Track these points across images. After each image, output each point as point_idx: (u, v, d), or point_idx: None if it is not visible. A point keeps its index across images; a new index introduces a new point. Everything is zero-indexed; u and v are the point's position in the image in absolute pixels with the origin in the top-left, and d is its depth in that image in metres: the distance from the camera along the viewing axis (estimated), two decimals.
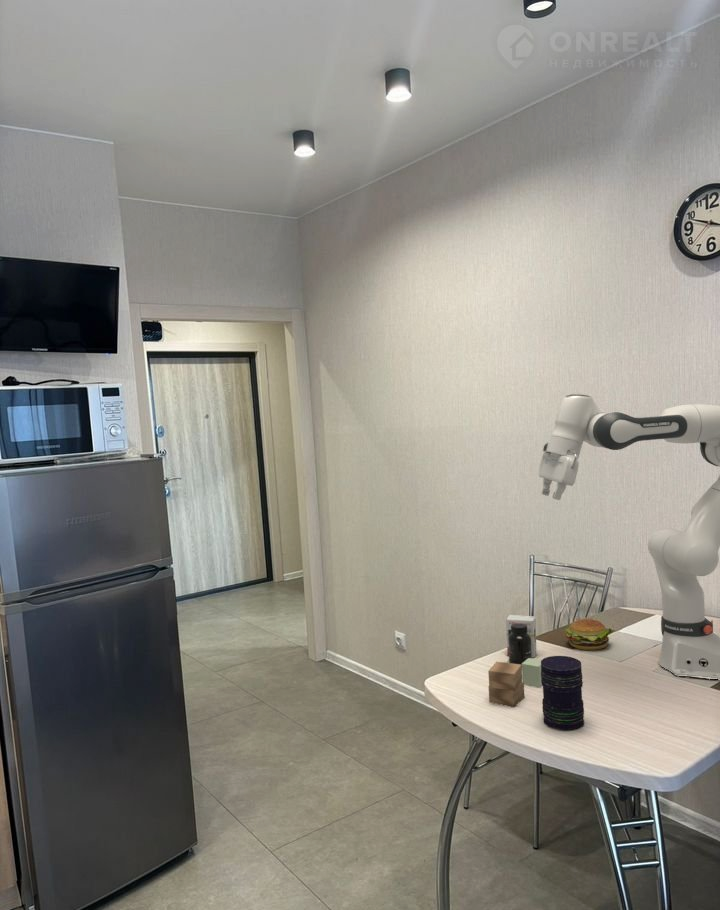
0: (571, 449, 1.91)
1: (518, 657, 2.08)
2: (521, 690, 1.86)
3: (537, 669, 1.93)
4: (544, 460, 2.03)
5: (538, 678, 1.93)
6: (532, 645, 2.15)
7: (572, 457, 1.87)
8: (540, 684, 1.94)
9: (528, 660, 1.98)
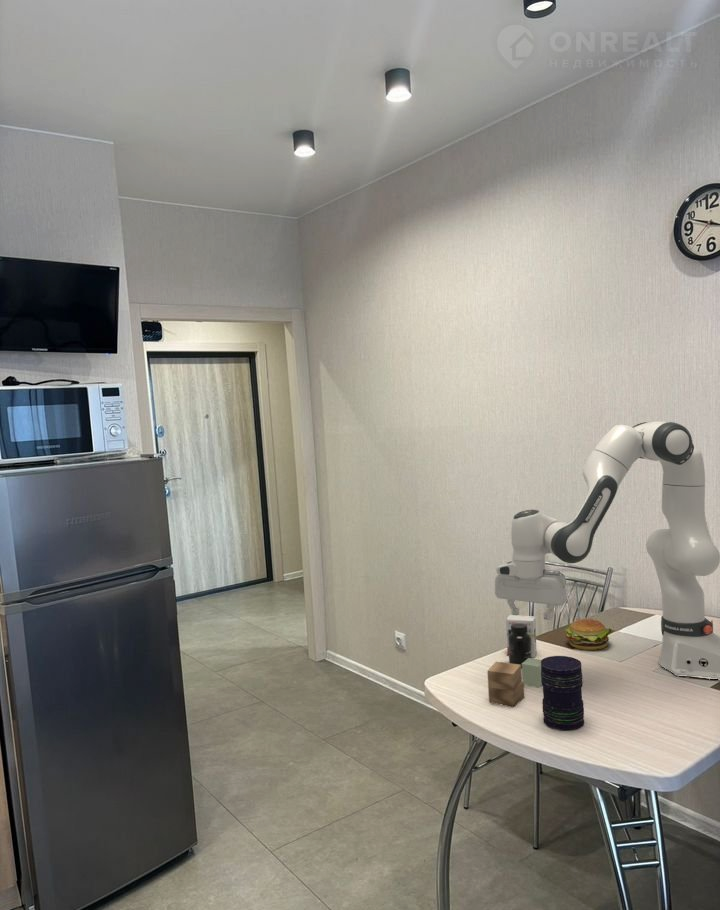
0: (544, 567, 1.92)
1: (518, 657, 2.08)
2: (521, 690, 1.86)
3: (537, 669, 1.93)
4: (501, 582, 1.98)
5: (538, 678, 1.93)
6: (532, 645, 2.15)
7: (559, 577, 1.89)
8: (540, 684, 1.94)
9: (528, 660, 1.98)
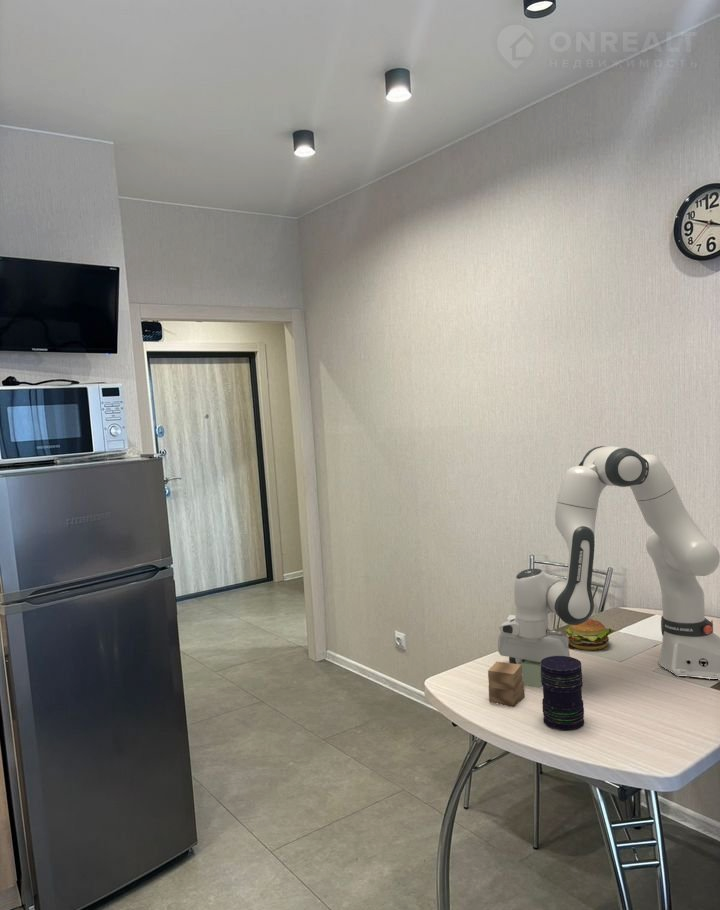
0: (547, 627, 1.94)
1: None
2: (521, 690, 1.86)
3: (537, 669, 1.93)
4: (504, 640, 1.99)
5: (538, 678, 1.93)
6: None
7: (562, 638, 1.90)
8: (540, 684, 1.94)
9: (528, 660, 1.98)
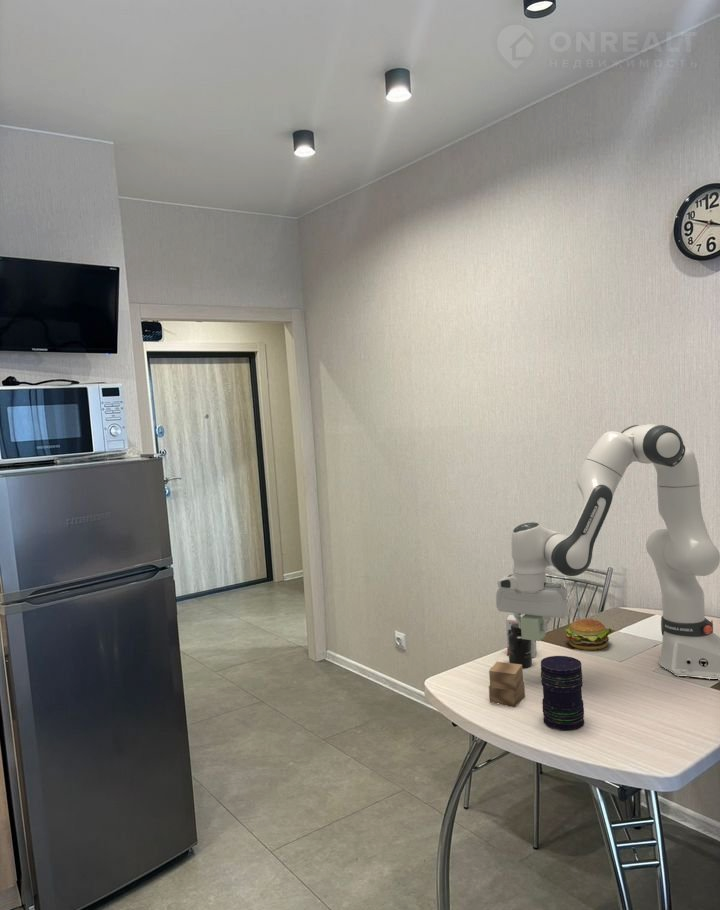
0: (545, 580, 1.93)
1: (518, 657, 2.08)
2: (521, 690, 1.86)
3: (536, 622, 1.92)
4: (502, 595, 1.98)
5: (537, 631, 1.93)
6: (532, 645, 2.15)
7: (560, 590, 1.89)
8: (539, 638, 1.93)
9: (527, 615, 1.97)
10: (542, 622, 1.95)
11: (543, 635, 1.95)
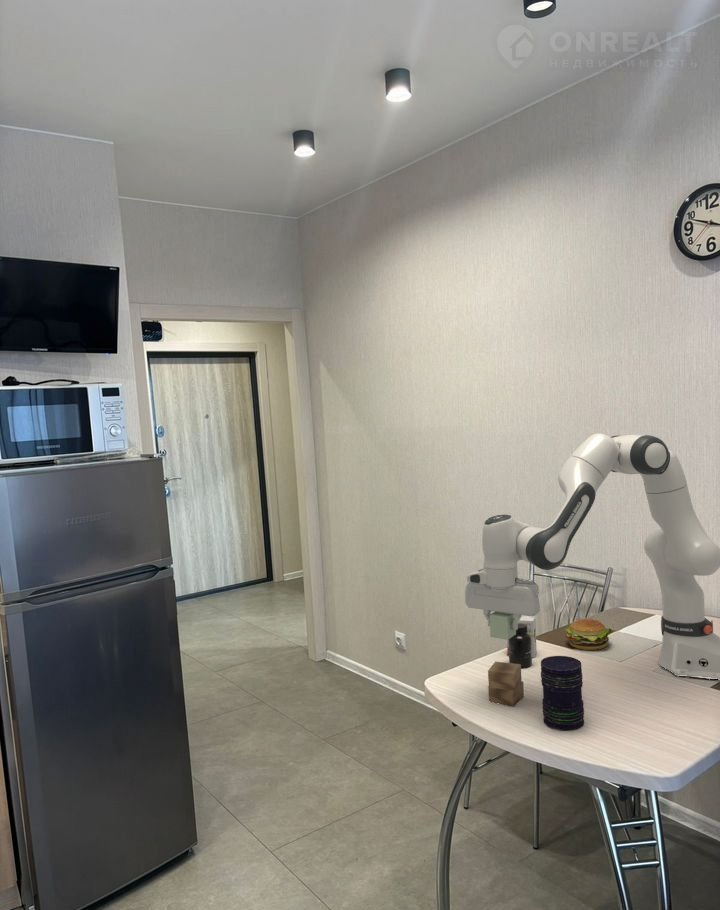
0: (516, 576, 1.83)
1: (518, 657, 2.08)
2: (521, 690, 1.86)
3: (505, 620, 1.82)
4: (471, 590, 1.88)
5: (506, 629, 1.82)
6: (532, 645, 2.15)
7: (532, 587, 1.79)
8: (508, 636, 1.83)
9: (496, 612, 1.87)
10: (512, 620, 1.85)
11: (513, 634, 1.85)
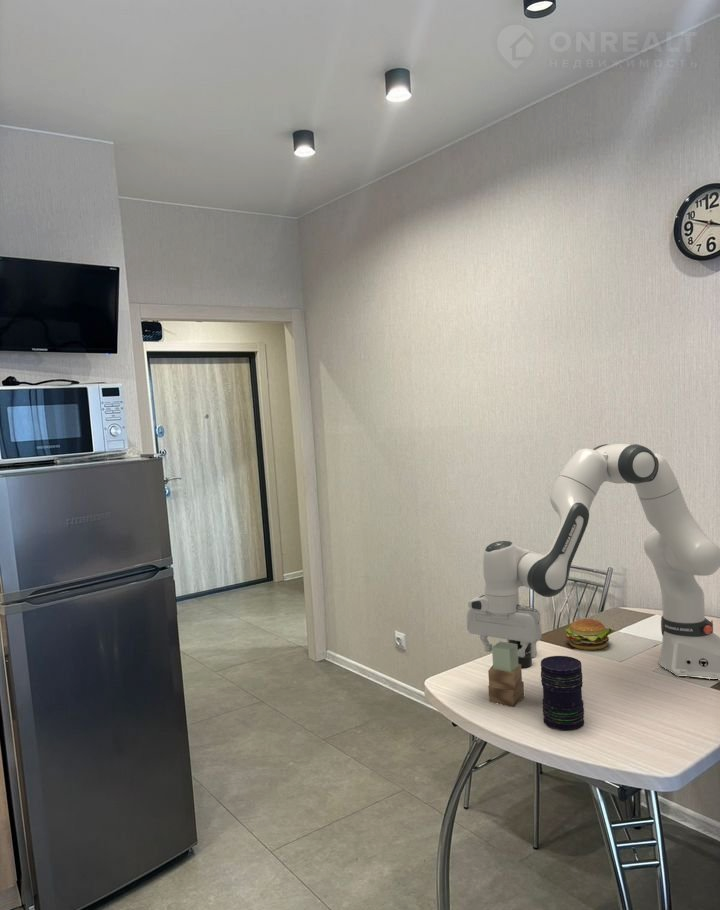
0: (518, 602, 1.83)
1: (518, 657, 2.08)
2: (521, 690, 1.86)
3: (508, 653, 1.83)
4: (473, 616, 1.88)
5: (509, 662, 1.83)
6: (532, 645, 2.15)
7: (533, 613, 1.80)
8: (511, 668, 1.83)
9: (499, 643, 1.87)
10: (515, 652, 1.85)
11: (516, 666, 1.86)
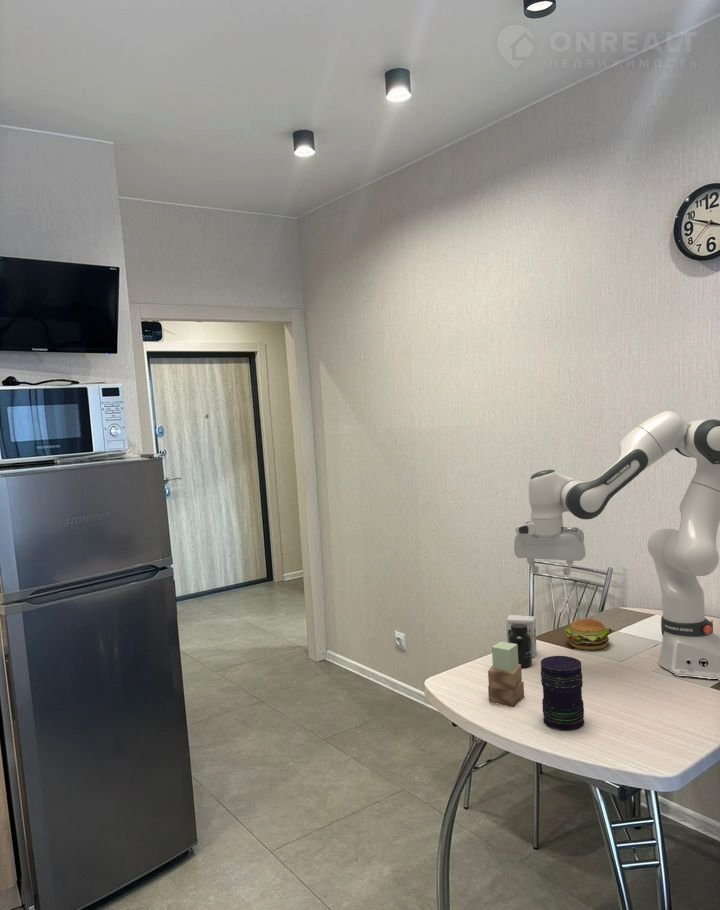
0: (562, 525, 1.98)
1: (518, 657, 2.08)
2: (521, 690, 1.86)
3: (507, 653, 1.83)
4: (520, 541, 2.04)
5: (508, 662, 1.83)
6: (532, 645, 2.15)
7: (578, 533, 1.95)
8: (511, 669, 1.83)
9: (499, 643, 1.88)
10: (515, 652, 1.85)
11: (515, 666, 1.86)
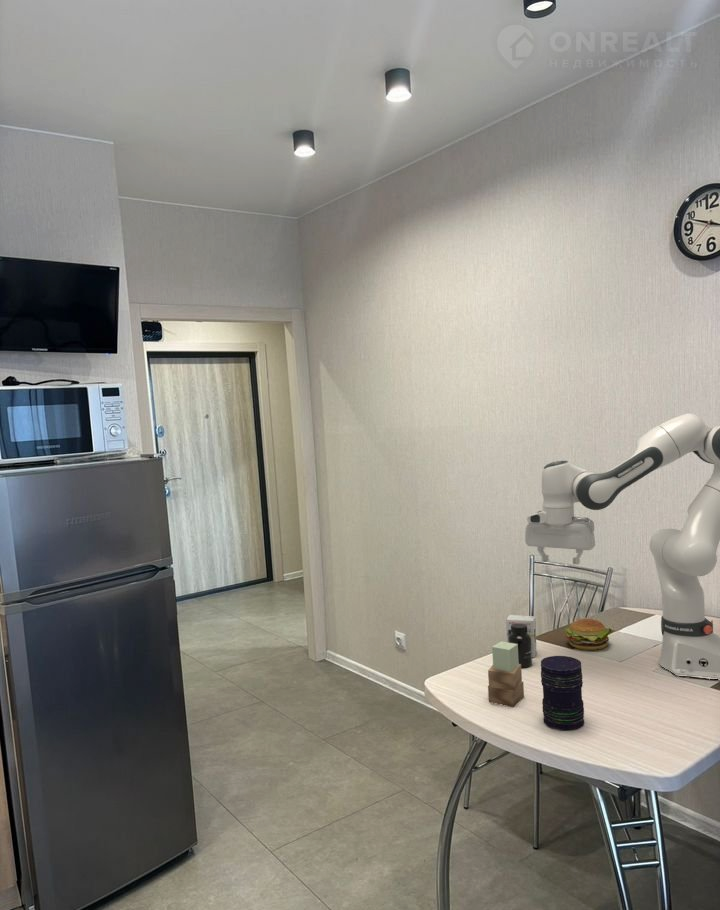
0: (573, 515, 2.03)
1: (518, 657, 2.08)
2: (520, 690, 1.86)
3: (508, 652, 1.83)
4: (531, 530, 2.08)
5: (509, 662, 1.83)
6: (532, 645, 2.15)
7: (588, 523, 1.99)
8: (511, 668, 1.83)
9: (499, 643, 1.87)
10: (515, 652, 1.85)
11: (516, 666, 1.85)
